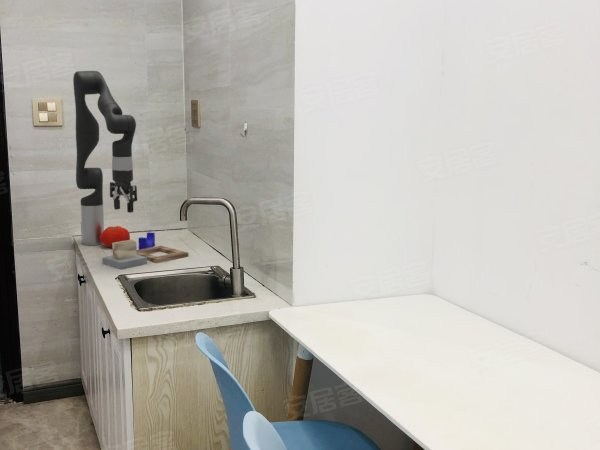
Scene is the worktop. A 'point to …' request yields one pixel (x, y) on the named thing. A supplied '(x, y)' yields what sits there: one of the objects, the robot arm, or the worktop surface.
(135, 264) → the plinth
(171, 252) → the board
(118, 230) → the tomato
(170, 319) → the worktop surface
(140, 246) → the cable clip
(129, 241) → the ash block
